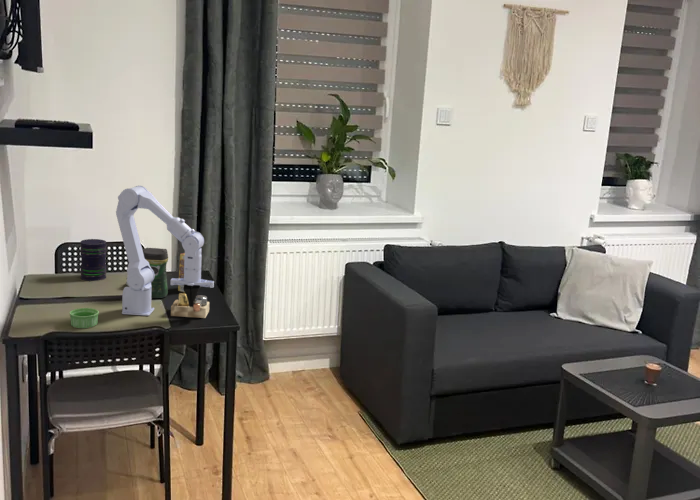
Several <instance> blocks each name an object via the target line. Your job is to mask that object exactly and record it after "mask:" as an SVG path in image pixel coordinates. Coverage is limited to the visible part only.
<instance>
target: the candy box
mask: <svg viewBox="0 0 700 500" xmlns="http://www.w3.org/2000/svg"><path fill="white" fill-rule="evenodd" d="M184 255H185V252H183V253H180V254H179V267H178V278H184ZM177 286H178V287H177V291H178V292H180V293H185V292H184V290H183V288H184V285H177Z"/></svg>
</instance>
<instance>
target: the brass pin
mask: <svg viewBox="0 0 700 500" xmlns="http://www.w3.org/2000/svg"><path fill="white" fill-rule="evenodd" d="M177 300H178V306H188V299H187V296H186V294H185V292H179V293H178V299H177Z"/></svg>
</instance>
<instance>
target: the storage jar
mask: <svg viewBox="0 0 700 500" xmlns="http://www.w3.org/2000/svg"><path fill="white" fill-rule="evenodd" d="M79 251H80V257H81V258H80V262H81V264H80V267H79V268H80V269H79V270H80V271H79V272H80V279H81V280H83V281H89V282H98V281H103V280H105V279H107V264H106V261H107V260H106V259H107V258H106V256H107V241H106V240H103V239H100V238H99V239H98V238H97V239H96V238H88V239H87V238H86V239H83V240H81V241H80V250H79Z"/></svg>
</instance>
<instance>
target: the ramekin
mask: <svg viewBox="0 0 700 500" xmlns="http://www.w3.org/2000/svg"><path fill="white" fill-rule="evenodd" d="M99 314H100V311H99V310H98V309H96V308H92V307H81V308H75V309H72V310H70V311H69V316H70V325H71V327H73V328H75V327H76V328H75V329H90V328H89V327H91V328H94V327H96V326H97V325H98V320H99ZM95 325H96V326H95ZM93 326H94V327H93Z"/></svg>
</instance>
